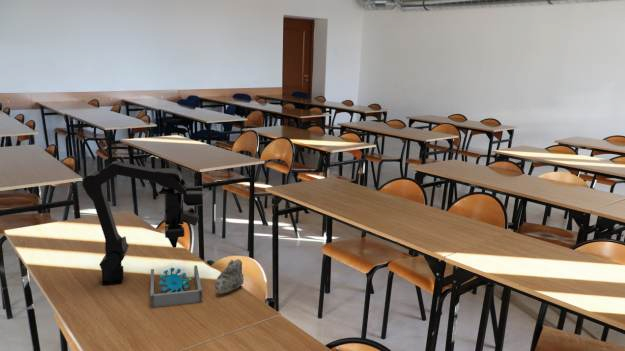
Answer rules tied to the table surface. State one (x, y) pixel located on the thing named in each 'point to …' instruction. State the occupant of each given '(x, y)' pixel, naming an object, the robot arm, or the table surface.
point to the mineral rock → (230, 277)
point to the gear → (174, 281)
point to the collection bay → (176, 294)
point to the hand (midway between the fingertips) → (174, 247)
